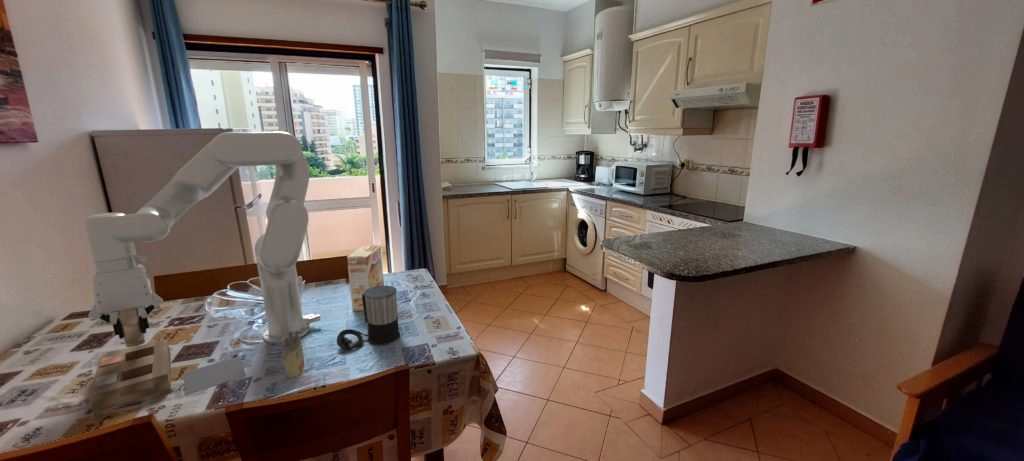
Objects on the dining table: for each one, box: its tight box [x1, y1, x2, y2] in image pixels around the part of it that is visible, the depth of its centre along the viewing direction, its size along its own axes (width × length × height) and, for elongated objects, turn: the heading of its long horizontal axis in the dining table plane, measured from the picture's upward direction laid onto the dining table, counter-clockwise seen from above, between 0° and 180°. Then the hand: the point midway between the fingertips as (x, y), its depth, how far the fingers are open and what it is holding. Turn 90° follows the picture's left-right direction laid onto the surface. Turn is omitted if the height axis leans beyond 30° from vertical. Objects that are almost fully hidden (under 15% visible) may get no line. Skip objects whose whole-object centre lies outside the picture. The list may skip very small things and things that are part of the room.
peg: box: [118, 308, 146, 348], centre depth 102 cm, size 4×4×12 cm
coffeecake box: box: [346, 244, 385, 312], centre depth 144 cm, size 15×7×20 cm, turn 179°
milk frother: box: [336, 285, 401, 351], centre depth 117 cm, size 14×16×15 cm
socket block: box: [87, 338, 172, 418], centre depth 100 cm, size 13×22×5 cm, turn 39°
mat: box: [183, 356, 247, 396], centre depth 103 cm, size 12×12×1 cm
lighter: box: [281, 331, 305, 378], centre depth 103 cm, size 7×4×10 cm, turn 14°
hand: (133, 333), depth 102 cm, fingers closed on peg, 3 cm apart
